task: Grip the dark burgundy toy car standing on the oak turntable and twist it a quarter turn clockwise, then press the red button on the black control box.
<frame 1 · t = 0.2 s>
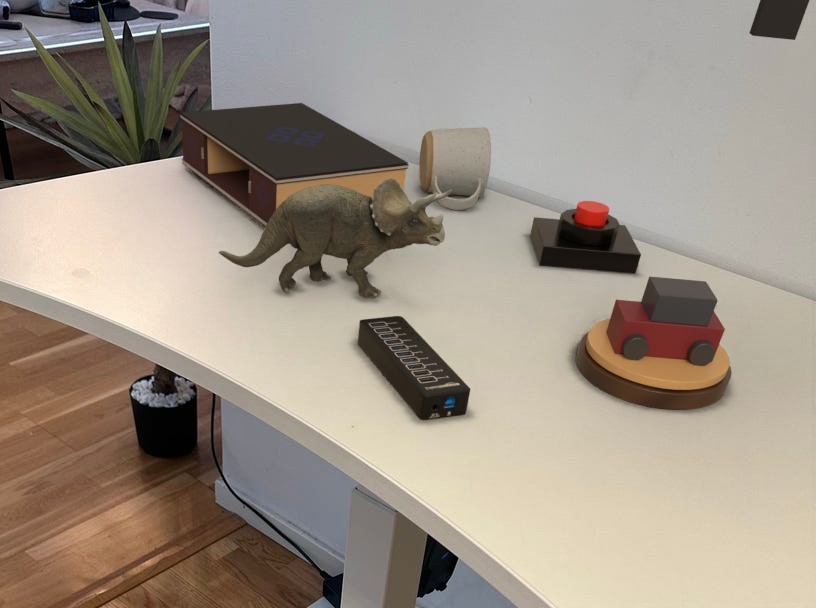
hand: (740, 16, 62), 29 cm above the table, tool pointing down, fingers open, 13 cm apart
miniature wooden cabinet: (288, 197, 113), on the table
toy car: (666, 322, 82), point 5 cm above the table, hinge at 0.0°
turntable base: (649, 371, 86), on the table
ceramic mug: (453, 198, 117), on the table
toy dinosaur: (328, 288, 94), on the table
start button: (591, 214, 103), point 4 cm above the table, slide at 0.1 cm
multiport hub: (408, 378, 82), on the table
control box: (581, 254, 106), on the table
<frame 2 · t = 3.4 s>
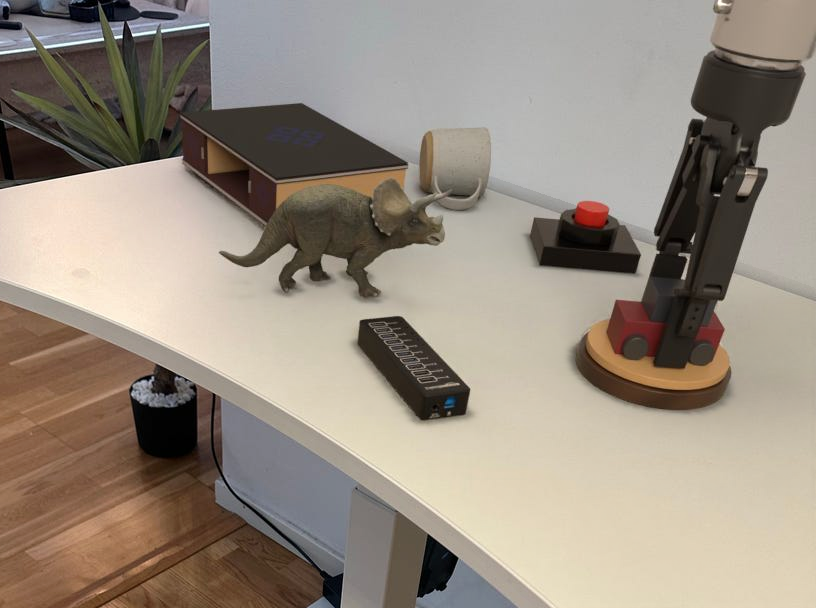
hand: (658, 344, 84), 3 cm above the table, tool pointing down, fingers closed on toy car, 7 cm apart
toy car: (666, 322, 82), point 5 cm above the table, hinge at 0.0°, touching gripper
everything else where it was.
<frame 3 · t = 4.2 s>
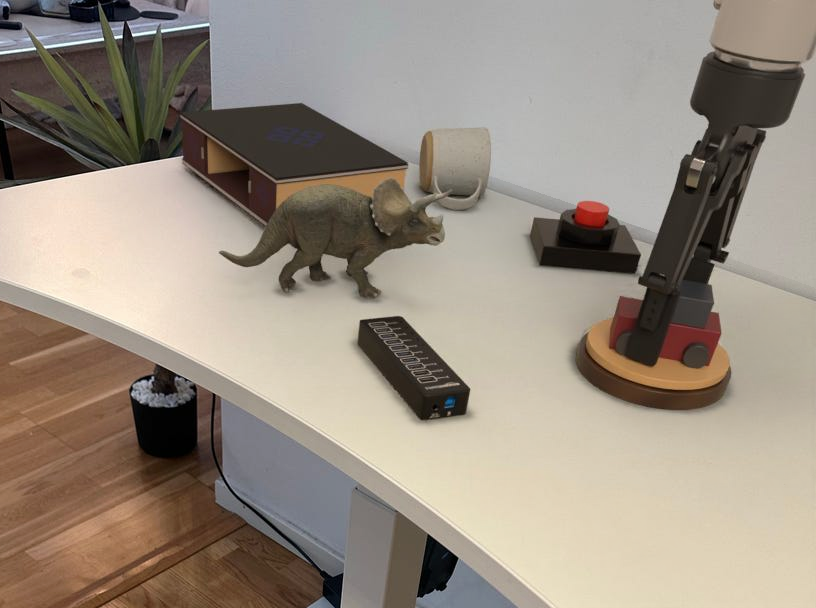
hand: (658, 343, 84), 3 cm above the table, tool pointing down, fingers closed on toy car, 8 cm apart
toy car: (666, 322, 82), point 5 cm above the table, hinge at -12.2°, touching gripper
everything else where it was.
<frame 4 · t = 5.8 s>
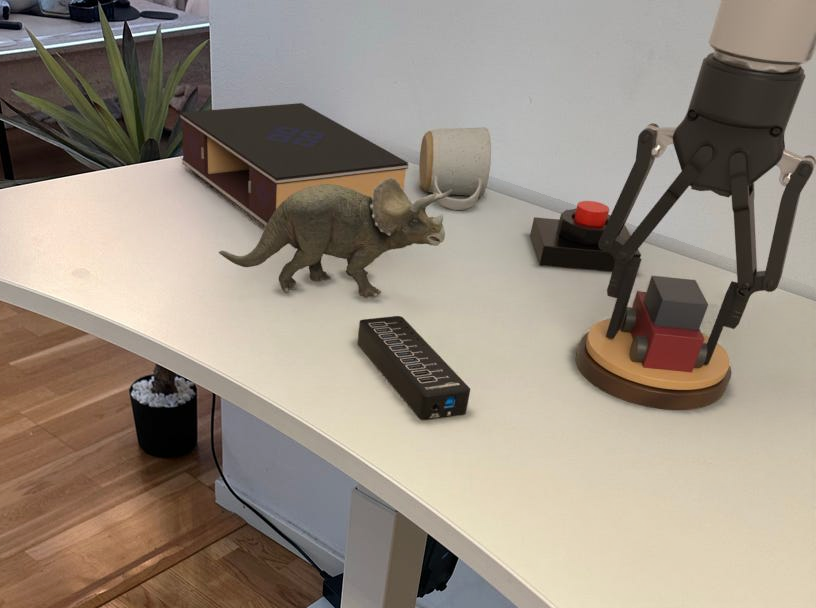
hand: (659, 344, 84), 3 cm above the table, tool pointing down, fingers closed on toy car, 8 cm apart
toy car: (666, 322, 82), point 5 cm above the table, hinge at -92.1°, touching gripper
everything else where it was.
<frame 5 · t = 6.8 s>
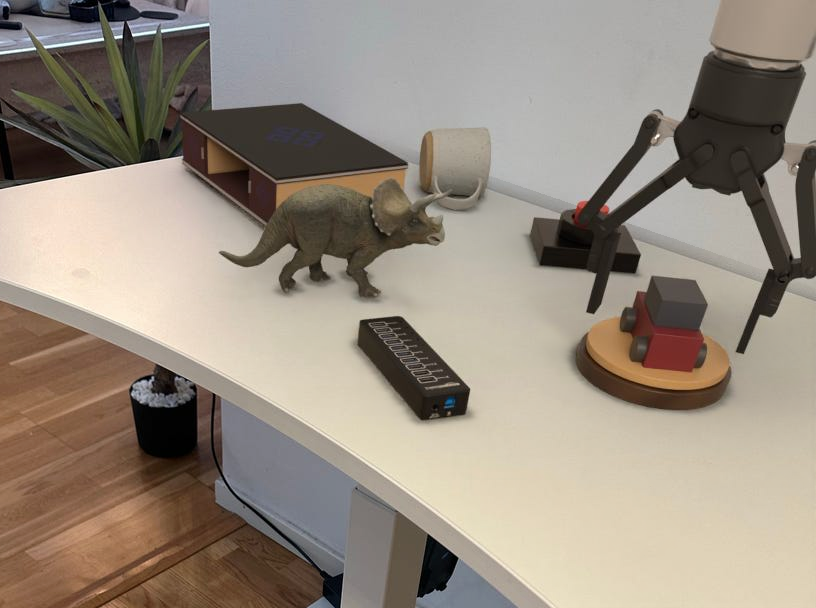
hand: (665, 327, 83), 4 cm above the table, tool pointing down, fingers open, 13 cm apart
toy car: (666, 322, 82), point 5 cm above the table, hinge at -92.4°
everything else where it was.
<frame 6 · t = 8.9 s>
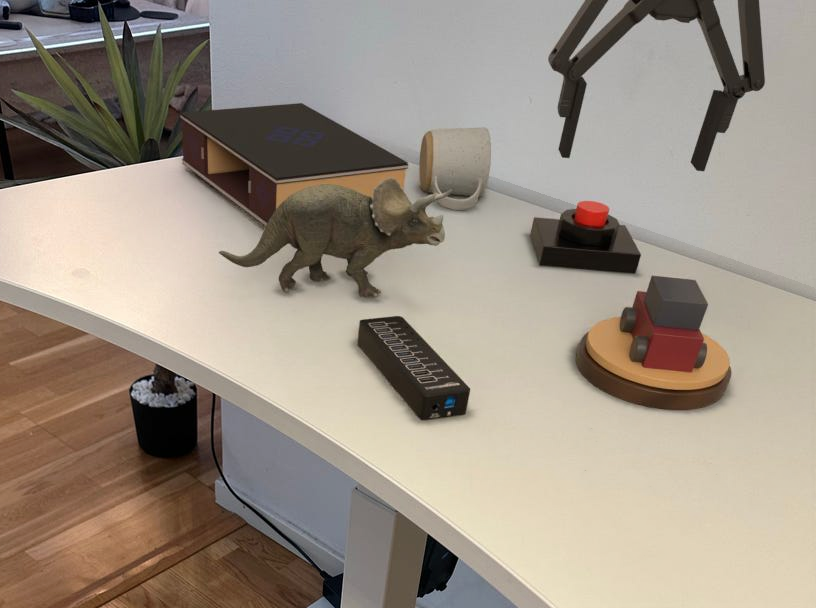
hand: (630, 160, 91), 12 cm above the table, tool pointing down, fingers open, 13 cm apart
nothing on the table moved.
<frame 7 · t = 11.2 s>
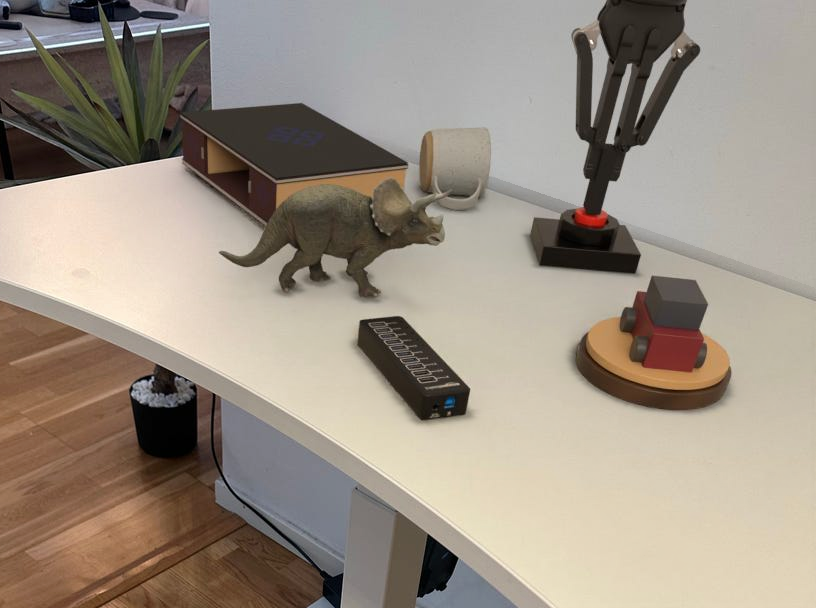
hand: (591, 209, 102), 5 cm above the table, tool pointing down, fingers closed
start button: (589, 220, 103), point 4 cm above the table, slide at -0.6 cm, touching gripper
everything else where it was.
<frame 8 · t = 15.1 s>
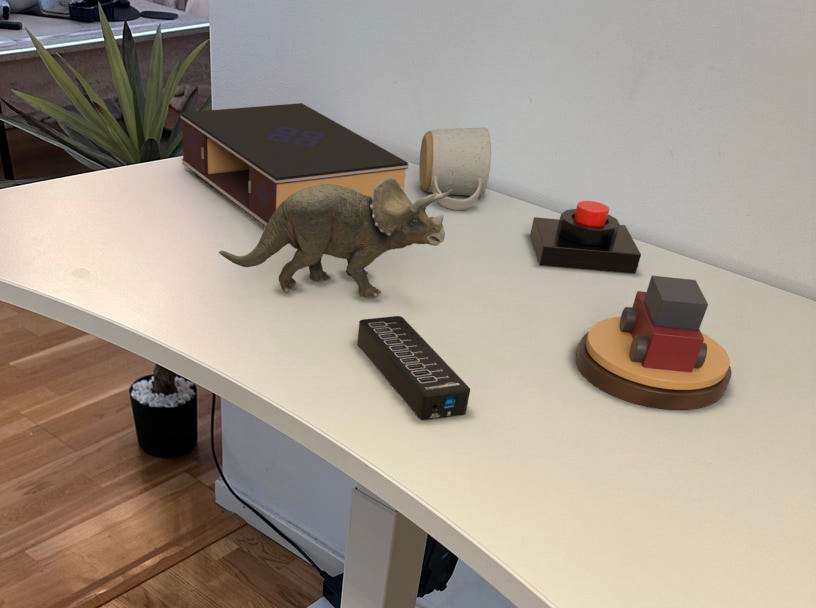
start button: (591, 214, 103), point 4 cm above the table, slide at 0.1 cm
everything else where it was.
at the end: toy car at -92° (first picture: +0°); start button pushed in 1.0 cm at the most during the clip, back to where it started at the end; start button slide at 0.1 cm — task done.
